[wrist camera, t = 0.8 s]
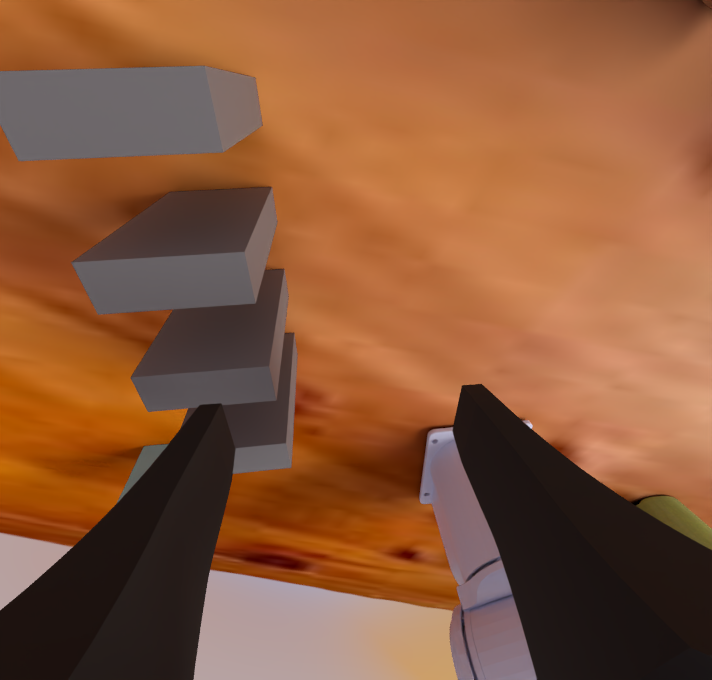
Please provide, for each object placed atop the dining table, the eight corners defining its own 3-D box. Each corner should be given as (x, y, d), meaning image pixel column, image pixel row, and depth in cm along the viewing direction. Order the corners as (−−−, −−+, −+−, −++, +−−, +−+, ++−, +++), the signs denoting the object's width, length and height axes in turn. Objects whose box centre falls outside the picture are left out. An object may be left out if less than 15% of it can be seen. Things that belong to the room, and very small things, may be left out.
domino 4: (297, 354, 22) (291, 467, 15) (222, 360, 21) (182, 478, 15) (294, 332, 21) (286, 443, 14) (215, 338, 21) (170, 454, 14)
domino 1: (262, 125, 15) (223, 152, 8) (150, 129, 15) (18, 160, 8) (255, 77, 14) (204, 65, 7) (136, 81, 14) (-27, 72, 7)
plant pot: (688, 523, 41) (797, 649, 32) (583, 549, 42) (659, 677, 33) (715, 466, 34) (863, 604, 25) (589, 499, 35) (686, 642, 26)
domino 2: (277, 222, 17) (255, 303, 11) (181, 227, 17) (97, 314, 10) (271, 187, 16) (244, 251, 10) (169, 191, 16) (70, 262, 9)
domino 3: (288, 296, 19) (276, 400, 13) (204, 302, 19) (148, 412, 13) (284, 268, 19) (269, 366, 12) (195, 274, 18) (130, 377, 12)
